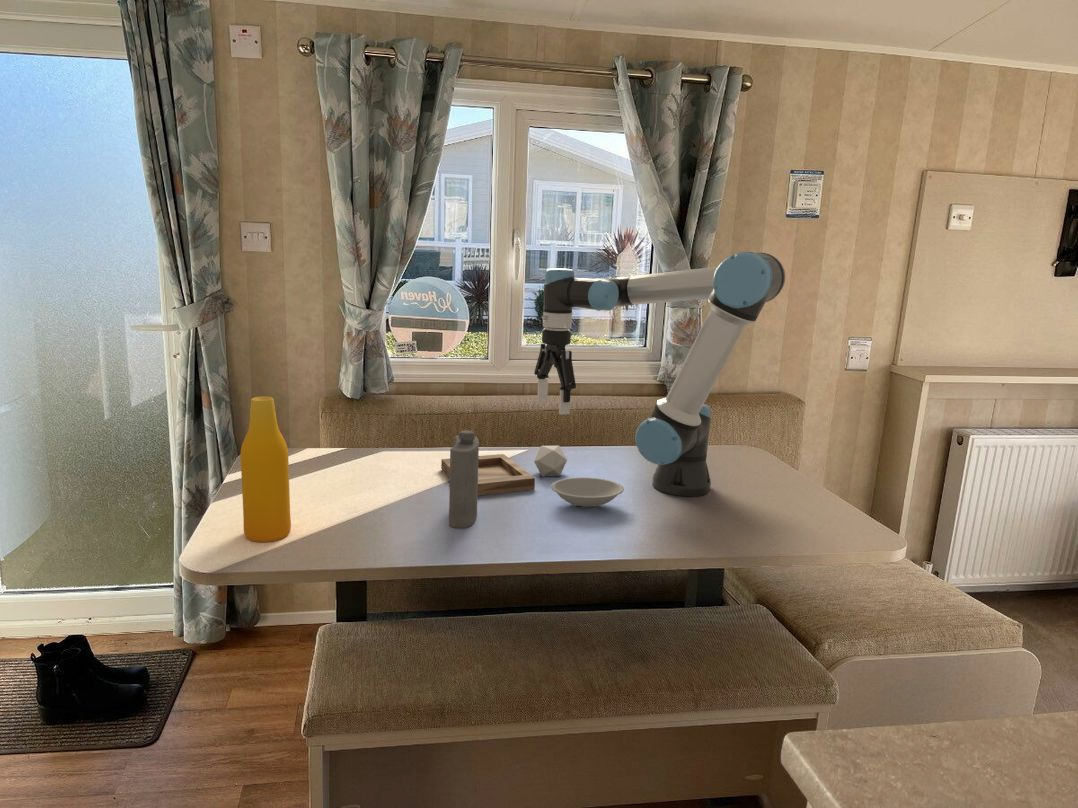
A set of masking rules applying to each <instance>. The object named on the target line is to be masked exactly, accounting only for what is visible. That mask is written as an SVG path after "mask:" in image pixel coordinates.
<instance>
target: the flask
mask: <svg viewBox="0 0 1078 808" xmlns="http://www.w3.org/2000/svg"><path fill="white" fill-rule="evenodd" d="M479 445H480V441H479V438H478V437H477V436H476V434H475V432H474V431H473V430H468V429H467V430H466V429H465V430H461V431H460V432H458V434H457V435H455V436H454V445H453V446H452V447H451V448H450V451H449V452H450V454H449V455H450V456H449V458H450V478H449V497H448V499H449V501H448V502H449V503H448V507H449V508H448V525H449V526H450V527H451V528H453V529H467V528H469V527H471V526H472V525H473V524H474V522H475V521H476V519H477V516H478V496H479V495H478V458H479V456H480V455H479V453H480V448H479V447H480V446H479Z"/></svg>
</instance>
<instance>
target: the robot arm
mask: <svg viewBox="0 0 1078 808" xmlns="http://www.w3.org/2000/svg"><path fill="white" fill-rule="evenodd" d="M544 274H545V276H544V284H543V292H544V293H543V311H542V312H543V314H542V315H541V319H542V326H543V329H542V330H541V331H542V333H541V343H540V351H539V355H538V358H537V361H536V365H535V369H534V373H533V374H534V375H535V376H536V378H537V379H538V380H537V395H536V396H537V398H536V403H537V404H541V403H542V404H543V403H544V404H545V403H548V395H549V394H548V393H549V390H548V389H549V378H550V377H549V374H550V371H551V369H552V368H553V367H554V368H555V369H556V371H557V375H558V376H557V377H558V379H559V383H560V385H561V386H560V388H559V401H558V402H559V403H558V405H559V406H558V414H559V415H570V411H571V394H572V390H573V389H574V390H575V389H576V387H577V385H576V378H575V373H574V366H573V358H572V355H573V352H572V350H566V346H568V345H570V344H571V341H572V337H571V336H572V331H571V330H570V329H571V328H572V326H573V325H572V323H573V321H572V320H573V308H574V309H575V308H577V309H578V308H579V309H586V310H594V311H598V312H600V311H602V312H603V311H607V312H609V311H612V310H613V309H614V308H615V307H618V308H619V307H627V306H635V305H648V304H649V305H650V304H660V303H662V304H663V303H673V302H683V301H685V302H686V301H697V300H707V302H708V304H709V305H708V306H709V307H710V310H709V311H708V314H707V315H706V318H705V320H704V321H703V324H702V326H701V327H700V330H699V332H698V333H697V335H696V337H695V339H694V342H692V343H693V344H692V345H691V348H690V350H689V351H688V352H687V353H688V354H687V355H686V357H685V360H684V362H683V363H682V366H681V367H680V369H679V371H678V373H677V375H676V377H675V379H674V381H673V383H672V385H671V387H670V389H669V390H668V393H667V395H666V397H663V398H659V399H657V401H656V403H655V404H654V407H653V409H652V411H651V413H650V415H649V417H648V418H646V419H645V420H643V421H642V422H641V423H640V425H638V427H637V428H636V431H635V436H634V437H635V439H634V440H635V445H636V447H637V450H638V451H639V452H638V453H639V454H640V455H641V456H642V458H644V459H645V460H646V461H647V462H649V463H652V464H653V465H657V466H656V469H655V471H654V473H653V474H652V482H651V484H652V487H653V488H654V489H656V490H658V491H660V492H661V493H665V494H669V495H673V496H680V497H699V496H704V495H707V494H709V493H710V491H711V485H712V481H711V477H710V472H709V468H708V464H707V463H708V462H707V456H708V446H709V437H710V436H709V435H710V428H711V427H710V425H711V420H712V417H711V414H712V413H711V412H712V409H711V407H710V406H709V405H708V404H705V402H706V400H707V399H708V397H709V395H710V393H711V390H712V389H713V387H714V386H715V384H716V382H717V381H718V378H719V376H720V374H721V372H722V370H723V368H724V367H725V365H726V363H727V361H728V359H729V357H730V355H731V353H732V351H733V350H734V348H735V346H736V344H737V342H738V340H739V338H740V337H741V334H742V333H743V331H744V328H745V327H746V326H748V325H751V324H753V323H755V322H756V321H757V319H758V317H759V315H760V313H761V312H762V310H763V309H764V306H765V304H766V303H768V302H770V301H772V300H774V299H776V297H777V296H778V295H779V294H780V293H781V292H782V290H783V289H784V286H785V283H786V271H785V268H784V266H783V264H782V262H781V261H780V260H779V259H778V258H776V257H775V256H774V255H772V254H770V253H765V252H753V251H740V252H738V253H734V254H732V255H730V256H728V257H726V258H725V259H723V261H721V263H720V264H719V265H718V266H711V267H703V268H693V269H685V270H683V269H682V270H676V271H675V270H674V271H666V272H658V273H657V272H656V273H649V274H640V275H639V274H638V275H631V276H628V275H627V276H619V277H609V278H607V277H606V278H581V277H580V278H579V277H576V276H575V271H574V270H573V269H572V268H555V267H554V268H553V267H552V268H548V269H546V270H545V273H544Z"/></svg>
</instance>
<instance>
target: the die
mask: <svg viewBox="0 0 1078 808" xmlns="http://www.w3.org/2000/svg"><path fill="white" fill-rule="evenodd" d="M567 462H568V458H567V457H566V455H565V453H564V451H563V450H562V448H561V446H560V445H540V447H539V449H538V451H537V453H536V456H535V458H534V460H533V463H534V464H535V466H536V469H538V472H539V474H540V475H541V477H559V476H561V475H562V473H563V470H564V469H565V466H566V463H567Z"/></svg>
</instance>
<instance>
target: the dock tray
mask: <svg viewBox="0 0 1078 808" xmlns="http://www.w3.org/2000/svg"><path fill="white" fill-rule="evenodd" d="M440 469H442V470H441V471H442V473H444V474H445V475H446V476H447V477H448V479H450V457H449V458H441V465H440ZM535 488H536V478H535V477H534V476H533V475H532V474H531V473H529V471H526V470H525V469H524V468H523V467H521V466H520V465H519V464H517V463H516V462H515V461H513V460H512V459H511V458H510V457H508V456H507V455H505V454H504V453H500V454H499V453H496V454H486V455H479V458H478V495H477V496H485V495H495V494H502V493H512V492H514V493H515V492H523V491H530V490H535Z"/></svg>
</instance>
